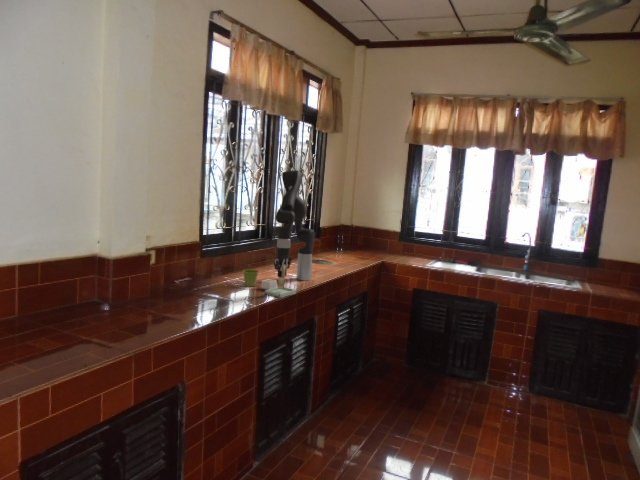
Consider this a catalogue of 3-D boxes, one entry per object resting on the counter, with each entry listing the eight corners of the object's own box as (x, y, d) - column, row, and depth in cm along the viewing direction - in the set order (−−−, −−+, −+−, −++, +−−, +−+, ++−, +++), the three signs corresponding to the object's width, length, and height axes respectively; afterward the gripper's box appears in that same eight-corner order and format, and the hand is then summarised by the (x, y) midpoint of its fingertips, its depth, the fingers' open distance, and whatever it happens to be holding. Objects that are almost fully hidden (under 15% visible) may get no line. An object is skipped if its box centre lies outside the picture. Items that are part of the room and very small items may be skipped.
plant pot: (259, 284, 281) (260, 270, 279) (256, 287, 271) (256, 273, 270) (244, 283, 281) (245, 269, 280) (240, 286, 272) (241, 271, 271)
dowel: (280, 287, 264) (282, 263, 262) (285, 288, 262) (286, 264, 260) (276, 288, 261) (278, 263, 259) (281, 289, 259) (282, 264, 257)
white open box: (268, 287, 275) (268, 278, 274) (276, 289, 272) (276, 280, 271) (261, 288, 270) (261, 280, 269) (269, 290, 267) (270, 282, 266)
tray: (281, 289, 271) (281, 286, 271) (296, 293, 265) (296, 289, 265) (264, 293, 259) (264, 290, 259) (279, 297, 253) (280, 294, 252)
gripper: (286, 244, 266) (284, 274, 269) (270, 246, 255) (268, 277, 257) (296, 246, 262) (294, 276, 264) (280, 248, 251) (278, 279, 253)
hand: (281, 276), depth 261 cm, fingers closed on dowel, 3 cm apart
